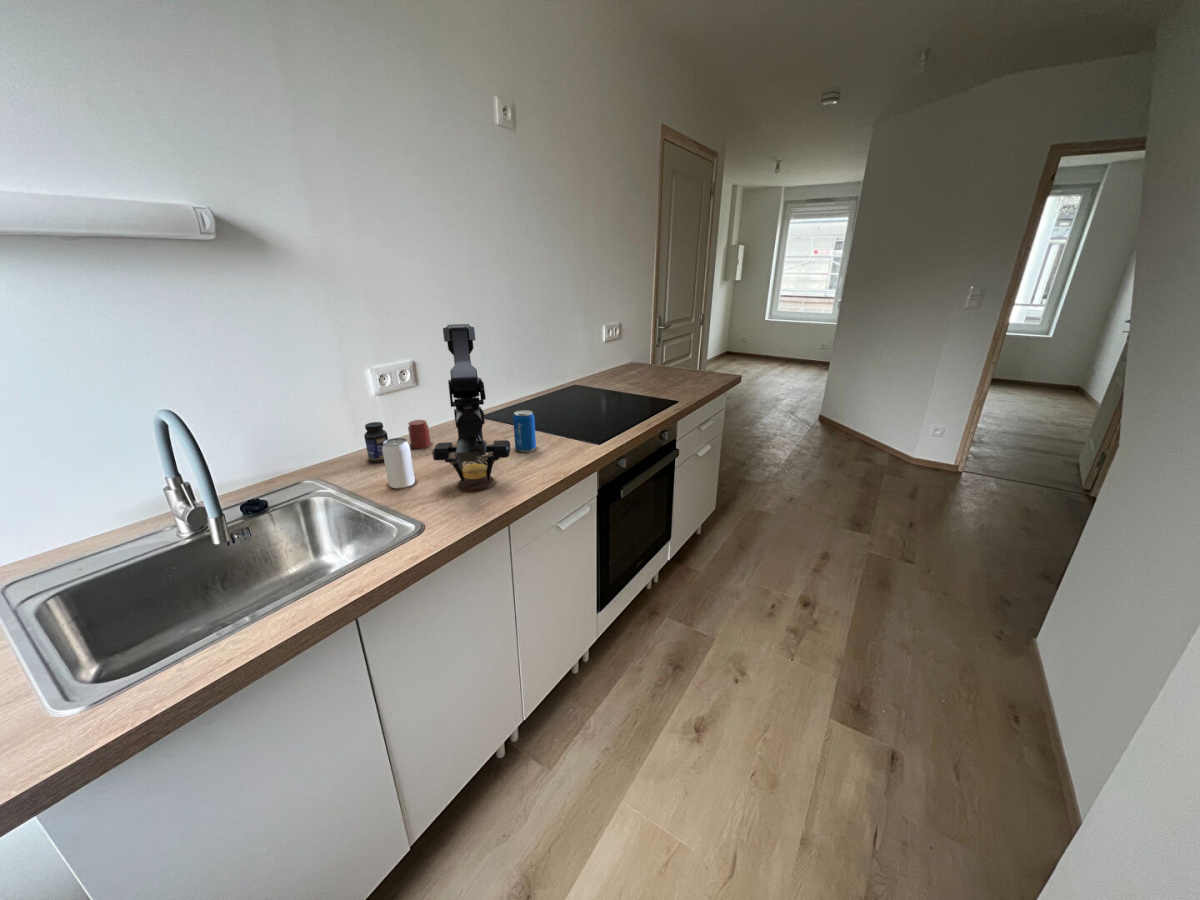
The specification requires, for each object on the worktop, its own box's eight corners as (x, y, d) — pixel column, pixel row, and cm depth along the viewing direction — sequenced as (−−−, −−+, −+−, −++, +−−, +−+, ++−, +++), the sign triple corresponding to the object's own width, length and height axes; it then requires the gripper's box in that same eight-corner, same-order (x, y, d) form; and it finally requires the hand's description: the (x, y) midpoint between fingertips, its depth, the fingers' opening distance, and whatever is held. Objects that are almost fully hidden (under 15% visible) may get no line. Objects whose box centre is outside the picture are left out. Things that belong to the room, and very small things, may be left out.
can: (389, 491, 115) (380, 447, 111) (389, 481, 121) (381, 439, 117) (416, 486, 118) (408, 443, 113) (414, 477, 123) (408, 435, 119)
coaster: (487, 474, 125) (487, 471, 125) (498, 486, 118) (498, 483, 118) (454, 481, 121) (454, 478, 120) (464, 494, 114) (463, 491, 113)
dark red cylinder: (428, 440, 150) (425, 418, 147) (432, 446, 145) (429, 423, 142) (409, 444, 147) (405, 421, 144) (413, 450, 142) (409, 426, 140)
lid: (466, 481, 114) (465, 475, 114) (460, 472, 120) (459, 466, 119) (491, 475, 117) (490, 470, 117) (483, 467, 123) (483, 461, 122)
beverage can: (511, 451, 141) (508, 414, 137) (522, 444, 147) (519, 408, 142) (529, 454, 139) (527, 416, 135) (539, 447, 145) (537, 411, 140)
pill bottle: (382, 463, 132) (376, 428, 128) (364, 462, 133) (357, 426, 129) (395, 456, 138) (389, 421, 134) (378, 454, 139) (371, 420, 135)
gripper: (422, 435, 105) (432, 495, 110) (504, 432, 107) (509, 492, 112) (434, 421, 115) (442, 476, 121) (508, 418, 117) (512, 473, 123)
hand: (475, 480), depth 119 cm, fingers closed on lid, 6 cm apart
